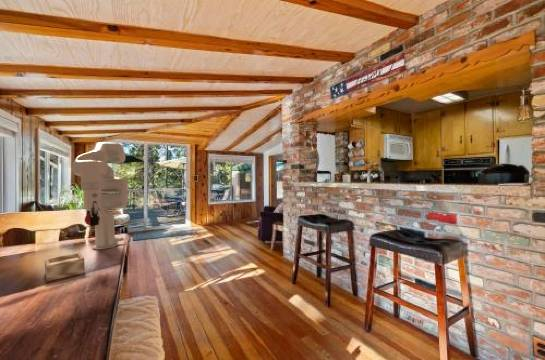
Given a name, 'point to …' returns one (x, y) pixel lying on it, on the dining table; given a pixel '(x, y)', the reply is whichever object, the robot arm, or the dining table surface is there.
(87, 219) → the onion
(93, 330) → the dining table surface
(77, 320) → the dining table surface
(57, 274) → the beige square hollow tray
